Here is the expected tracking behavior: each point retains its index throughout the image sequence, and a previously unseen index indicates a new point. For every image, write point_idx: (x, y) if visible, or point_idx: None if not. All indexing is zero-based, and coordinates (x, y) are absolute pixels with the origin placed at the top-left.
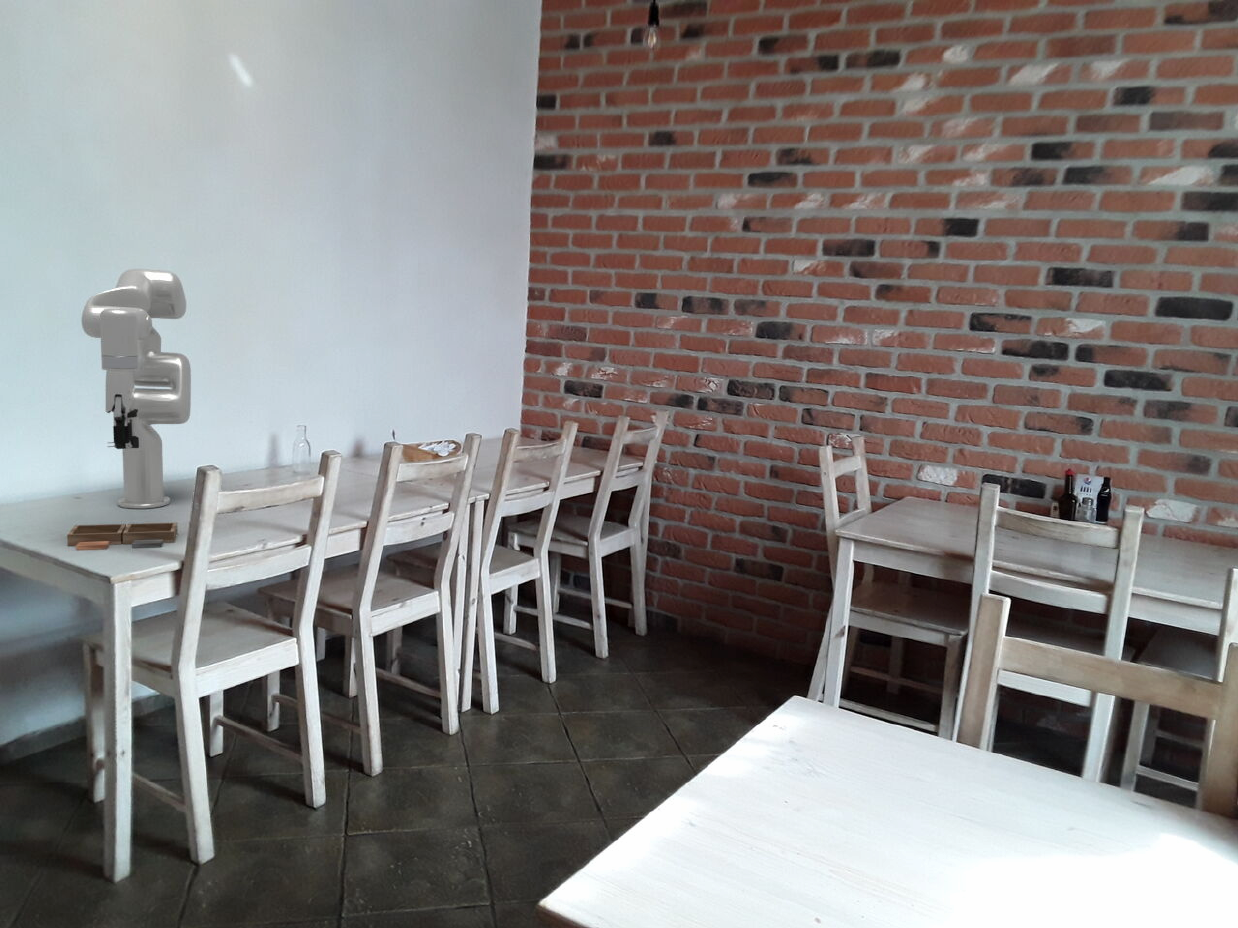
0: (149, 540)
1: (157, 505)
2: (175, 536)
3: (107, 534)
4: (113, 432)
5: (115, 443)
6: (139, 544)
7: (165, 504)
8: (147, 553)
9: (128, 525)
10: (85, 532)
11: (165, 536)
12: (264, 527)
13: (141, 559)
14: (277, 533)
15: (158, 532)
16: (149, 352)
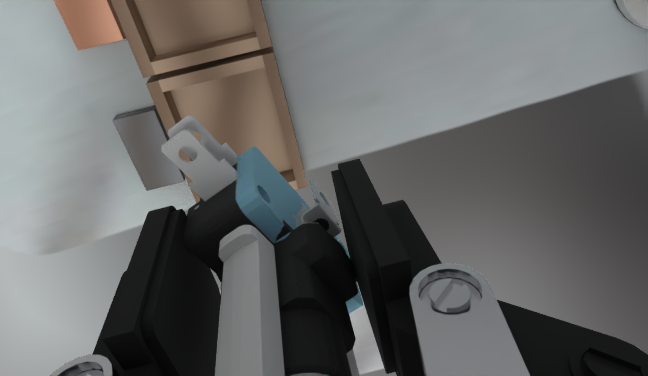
0: (163, 153)
1: (623, 10)
2: None
3: (126, 35)
4: (127, 276)
5: (225, 182)
6: (122, 138)
7: (641, 26)
8: (76, 174)
9: (251, 62)
10: None
11: None
12: (368, 321)
13: (12, 181)
14: None
15: (186, 178)
16: None
